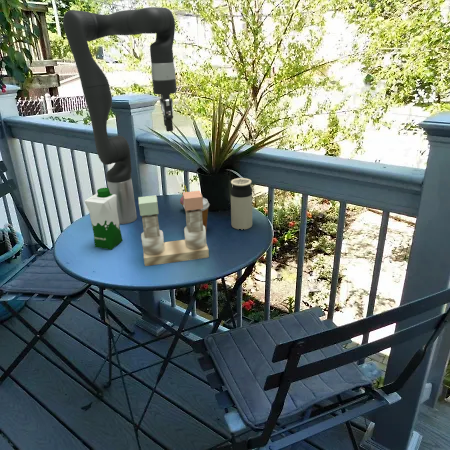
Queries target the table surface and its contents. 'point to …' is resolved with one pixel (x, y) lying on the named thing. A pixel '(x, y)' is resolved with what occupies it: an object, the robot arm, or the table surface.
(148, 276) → the table surface
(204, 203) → the disposable coffee cup
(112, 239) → the milk carton
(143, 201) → the sage plunger
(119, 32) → the robot arm
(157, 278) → the table surface
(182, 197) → the cupcake
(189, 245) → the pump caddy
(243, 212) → the travel mug
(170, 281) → the table surface
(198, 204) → the terracotta plunger
